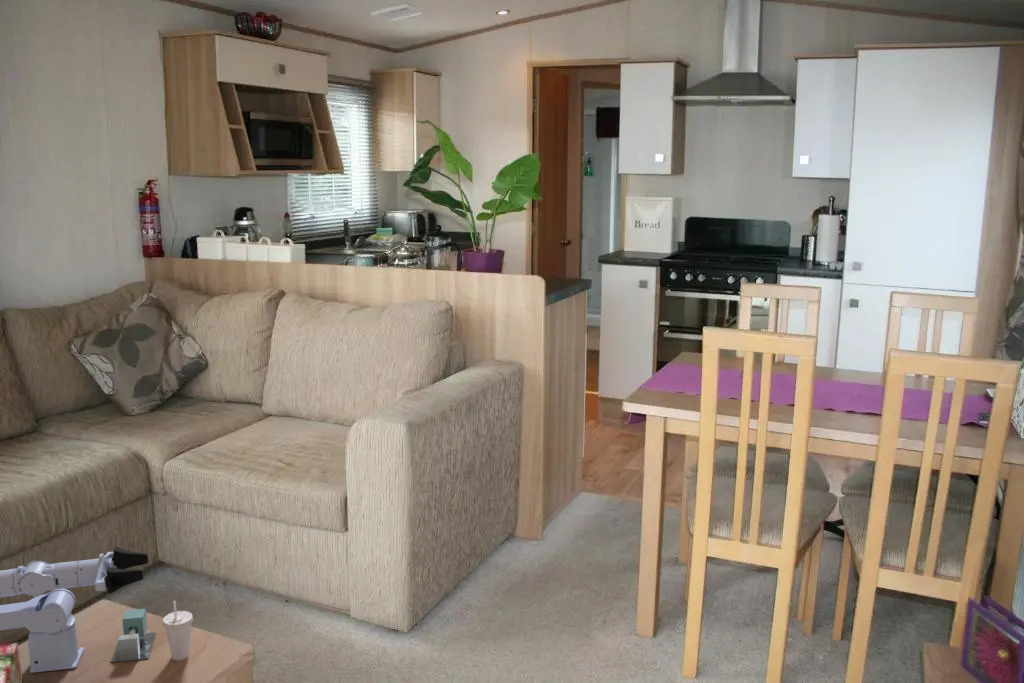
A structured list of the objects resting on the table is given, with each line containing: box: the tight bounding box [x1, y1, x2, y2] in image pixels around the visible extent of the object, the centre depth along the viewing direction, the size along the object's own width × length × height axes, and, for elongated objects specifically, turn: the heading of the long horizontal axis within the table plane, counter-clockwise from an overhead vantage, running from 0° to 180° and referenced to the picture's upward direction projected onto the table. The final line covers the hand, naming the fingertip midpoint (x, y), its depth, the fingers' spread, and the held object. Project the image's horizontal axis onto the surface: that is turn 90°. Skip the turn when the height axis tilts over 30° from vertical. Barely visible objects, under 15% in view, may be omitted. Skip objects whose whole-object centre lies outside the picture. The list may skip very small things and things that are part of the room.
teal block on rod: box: [121, 608, 148, 637], centre depth 209 cm, size 4×4×5 cm
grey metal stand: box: [110, 626, 157, 663], centre depth 207 cm, size 8×11×6 cm
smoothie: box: [162, 600, 194, 661], centre depth 203 cm, size 6×6×14 cm
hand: (145, 566), depth 201 cm, fingers open, 7 cm apart
